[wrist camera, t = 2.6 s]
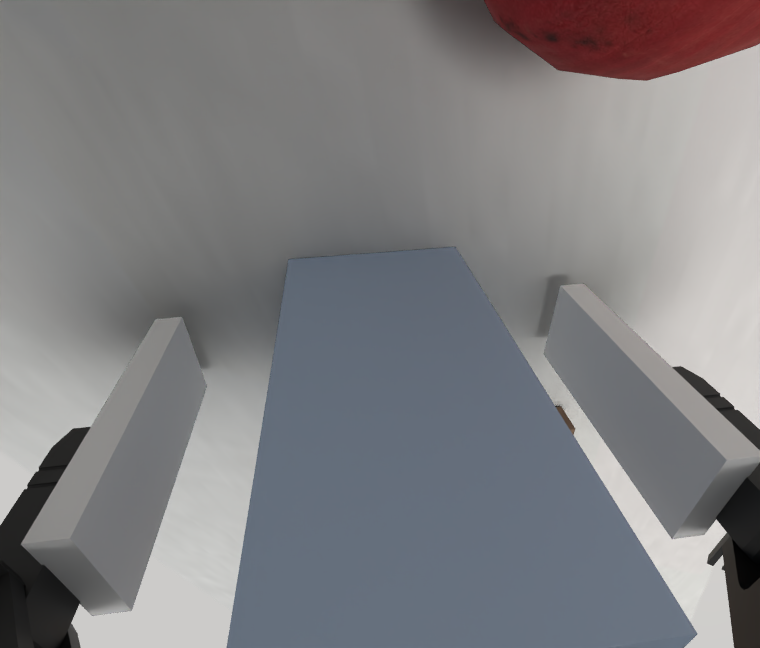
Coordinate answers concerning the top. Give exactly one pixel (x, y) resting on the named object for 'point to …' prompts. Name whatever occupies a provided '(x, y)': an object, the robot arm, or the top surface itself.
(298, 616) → the block
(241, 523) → the top surface
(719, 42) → the red oval piece
